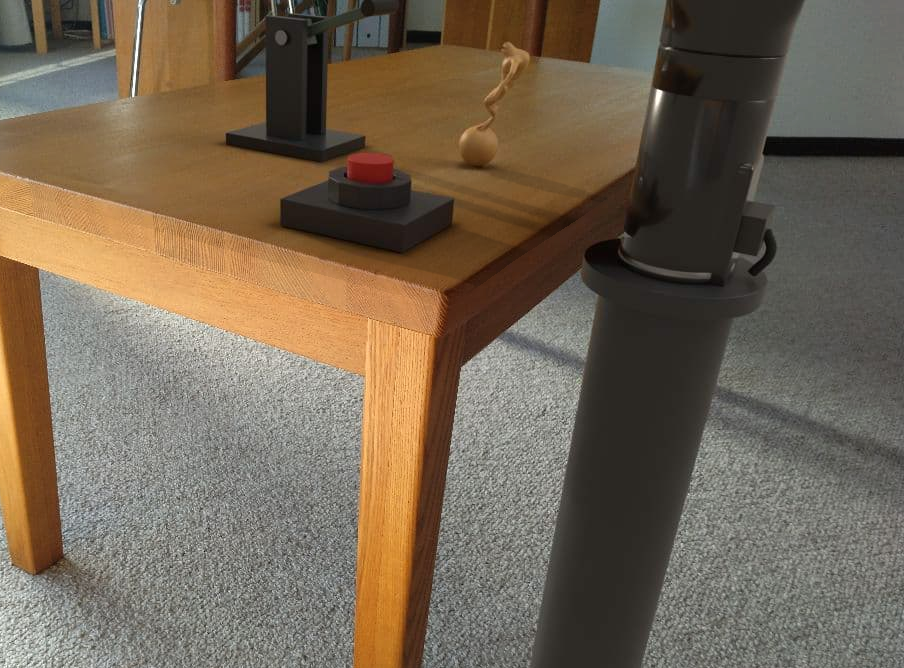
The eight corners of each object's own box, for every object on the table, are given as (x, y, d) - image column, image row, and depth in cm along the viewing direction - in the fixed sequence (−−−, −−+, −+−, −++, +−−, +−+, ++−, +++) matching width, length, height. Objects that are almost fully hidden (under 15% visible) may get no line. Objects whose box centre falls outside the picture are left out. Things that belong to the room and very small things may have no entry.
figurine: (461, 154, 96) (474, 34, 90) (518, 160, 95) (534, 39, 89) (451, 173, 89) (464, 43, 83) (512, 179, 88) (529, 48, 82)
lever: (402, 15, 87) (396, -11, 86) (377, 18, 83) (371, -9, 83) (303, 49, 94) (296, 25, 93) (276, 53, 90) (269, 28, 89)
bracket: (365, 146, 97) (371, 19, 91) (321, 162, 90) (324, 25, 84) (273, 130, 102) (273, 8, 96) (225, 144, 95) (222, 13, 89)
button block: (452, 224, 74) (456, 176, 72) (402, 253, 67) (406, 200, 65) (337, 200, 78) (339, 154, 76) (279, 225, 71) (279, 175, 69)
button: (400, 179, 71) (401, 157, 70) (378, 189, 68) (380, 166, 68) (361, 172, 73) (362, 150, 72) (338, 181, 70) (339, 158, 69)
